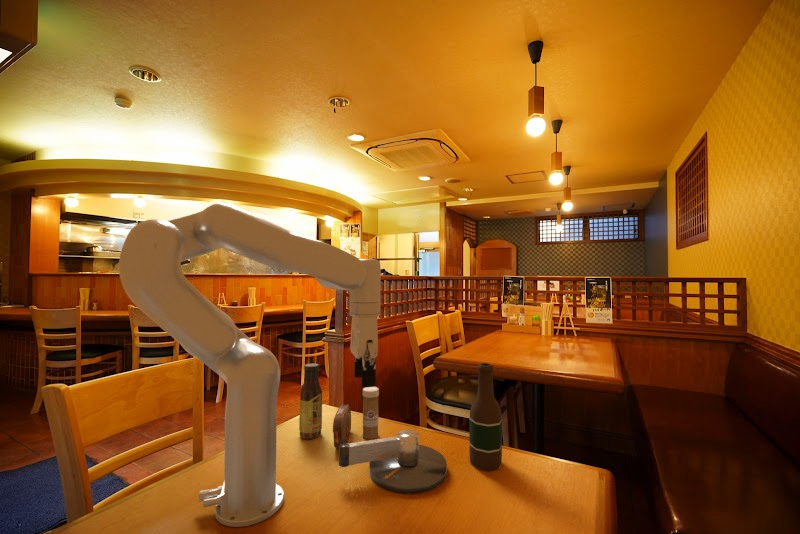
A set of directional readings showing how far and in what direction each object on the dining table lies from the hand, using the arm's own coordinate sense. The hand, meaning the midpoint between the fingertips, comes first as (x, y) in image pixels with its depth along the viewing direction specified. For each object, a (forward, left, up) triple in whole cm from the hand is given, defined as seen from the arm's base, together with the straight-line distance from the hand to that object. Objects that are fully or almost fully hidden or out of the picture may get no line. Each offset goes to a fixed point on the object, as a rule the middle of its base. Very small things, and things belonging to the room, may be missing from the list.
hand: (364, 381), depth 88 cm
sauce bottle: (-11, +20, -20) cm, 30 cm away
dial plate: (+9, -6, -20) cm, 23 cm away
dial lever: (+2, -6, -17) cm, 19 cm away
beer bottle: (+28, -9, -20) cm, 36 cm away
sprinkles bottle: (+5, +14, -20) cm, 25 cm away
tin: (-3, +14, -20) cm, 24 cm away
